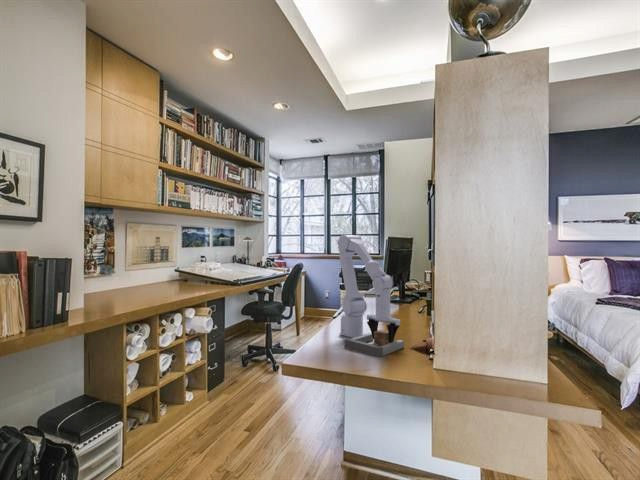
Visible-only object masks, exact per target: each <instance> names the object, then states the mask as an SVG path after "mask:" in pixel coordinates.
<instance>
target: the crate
mask: <svg viewBox="0 0 640 480" xmlns="http://www.w3.org/2000/svg"><path fill="white" fill-rule="evenodd" d="M386 344H389V333H388V330H386V329H379V330H377V331H374V339H373V345H376V346H383V345H386Z"/></svg>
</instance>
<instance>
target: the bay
mask: <svg viewBox="0 0 640 480" xmlns="http://www.w3.org/2000/svg"><path fill="white" fill-rule="evenodd" d="M364 334H365V335H361V336H358V337H355V338H352V337H347V338H344V342H343V343H344V344H343V345H344V348H346V349H350V350H353V351H357V352H359V353H360V352H361V353H363V354H367V355H371V356H374V357H378V358H381V357H383V356H386V355H388V354H391V353H393V352H395V351H399V350H401V349H403V348H404V344H405V343H404V340H401V339H398V340H394V342H392V343H389V344H386V345H383V346H379V345H375V344H372V343H369V342H372V341H374V339H373V337H372V333H371V332H368V333H364Z"/></svg>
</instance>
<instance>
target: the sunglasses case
mask: <svg viewBox="0 0 640 480" xmlns="http://www.w3.org/2000/svg"><path fill="white" fill-rule="evenodd" d="M431 347H432V338H431V337H428V338H425V339H423V340H422V341H420V342H418V343H416V344H414V345H412V346H410V347H409V350H410V351H411V350H412V351H414V350H415V352H418V351H419V352H418V353H421V352H423V353H422V354H425V353H427V354H426V355H428V354H430V353H429V351H430V349H431Z"/></svg>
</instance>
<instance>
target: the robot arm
mask: <svg viewBox="0 0 640 480" xmlns="http://www.w3.org/2000/svg"><path fill="white" fill-rule="evenodd" d="M337 246H338V247H337V248H338V252H339V253H338V254H339V255H338V257H339V261H340V268H341V271H342V278H343V282H344V289H345V295H344V296H343V297H342V298H341V299H342V308H341V309H342V312H343V314H342V315H341V317H340V332H339V335H340V336H345V337H347V338H355V337H358V336H361V335H365V334H366V333H364V331H363V330H364V329H363V328H364V315H365V312H366V311H367V309H368V305H367V302H366V300H365V297H364V295H363V294H362V293H361V292H360V291H359V288H358V284H357V277H356V273H355V268H354V262H353V256H354V255H355V254H357V255H358V257H359V258H360V259H361V261H362V262H363V263H364V264H365V267H364V270H365V272H367V274H368V275H369V277H370V279H371V280H372V283H371V284H372V287H373V290H374V294H375V314H371V313H370V314H369V313H368V314H366V320H367V321H366V324H367V325H368V327H369V330H370V333H371V334H372V337H373V340H374V331H378V329H379V322H381V323H384V324H385V323H386V324H387V325H386V327H387V331H388V333H389V343H392V342H394V341H395V337H396V334H397V331H398V329H399V328H400V325H401V319H398V318H395V317H393V316H391V289H392V288H393V286H394V280H393V278H392V276H391V275H389V274H387V273H386V272H385V271H384V270H383V268H382V267H381V266H380V262H378V261H377V260H373V258H372V256H371V255H370V253H369V252H368V249H367V248H366V247H365V240H364V239H363V238H362V236H361V235H357V234H356V235H351V234H341V235H340V236H339V238H338V240H337Z"/></svg>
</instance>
